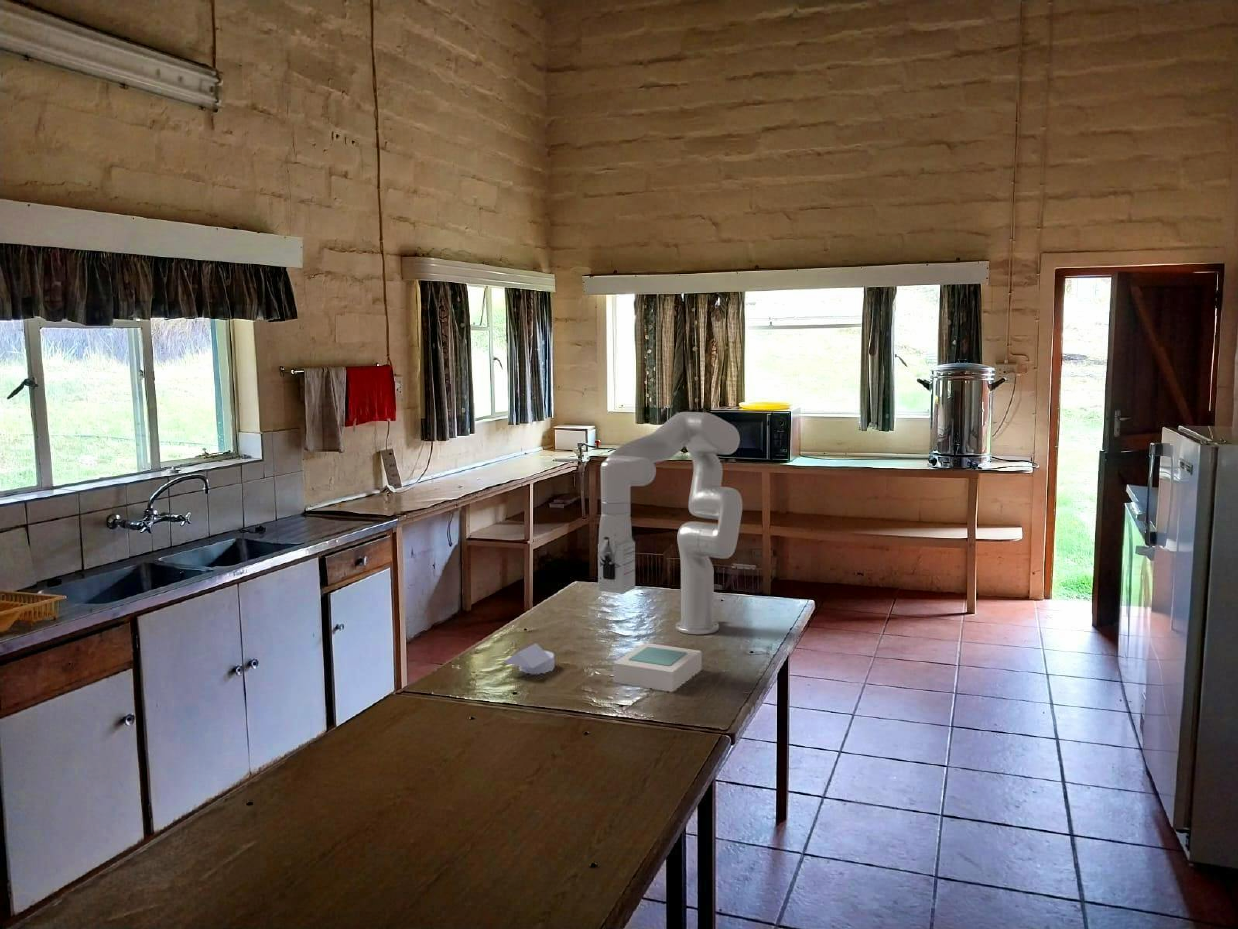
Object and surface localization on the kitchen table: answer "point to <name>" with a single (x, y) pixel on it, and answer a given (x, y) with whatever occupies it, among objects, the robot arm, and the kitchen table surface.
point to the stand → (657, 667)
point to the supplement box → (619, 570)
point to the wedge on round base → (533, 660)
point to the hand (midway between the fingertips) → (616, 575)
